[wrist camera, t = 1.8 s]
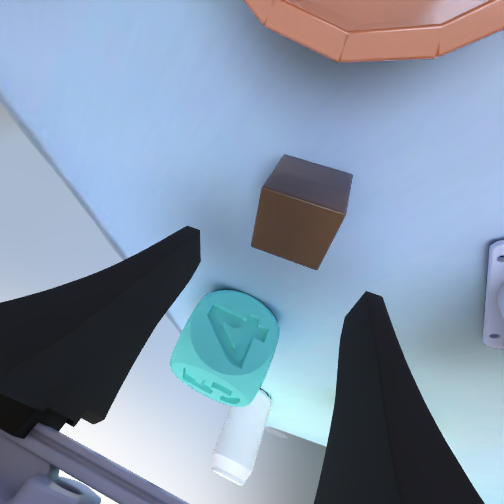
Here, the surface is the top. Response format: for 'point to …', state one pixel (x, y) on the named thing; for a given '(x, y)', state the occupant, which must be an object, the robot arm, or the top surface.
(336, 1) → the pot
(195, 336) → the decorative dice
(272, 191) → the block
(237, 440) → the beverage can
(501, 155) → the top surface
